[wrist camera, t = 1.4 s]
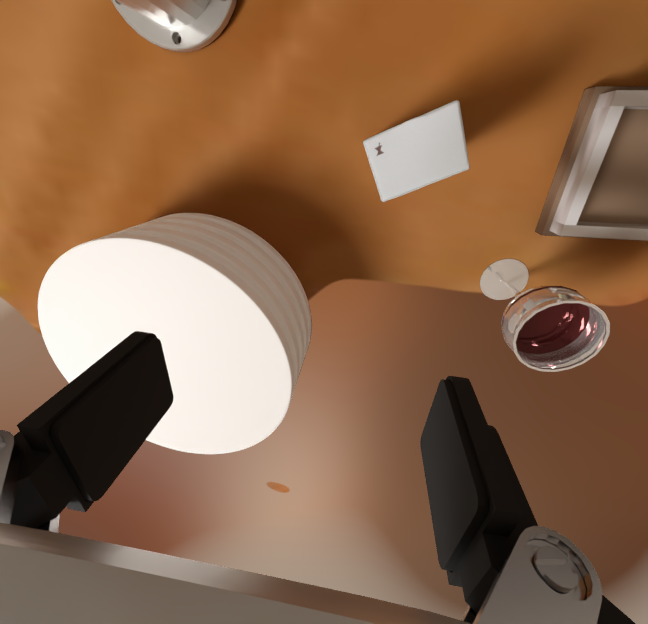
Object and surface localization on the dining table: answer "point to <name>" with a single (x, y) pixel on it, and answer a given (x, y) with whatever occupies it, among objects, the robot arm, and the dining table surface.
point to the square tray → (602, 169)
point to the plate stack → (187, 322)
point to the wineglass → (545, 319)
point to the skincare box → (418, 152)
